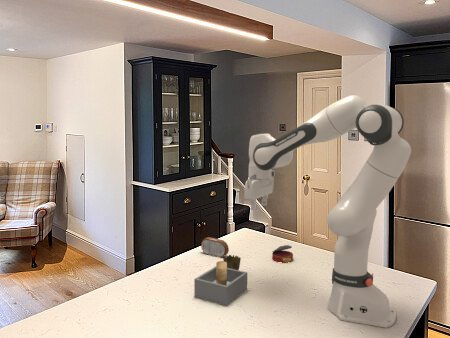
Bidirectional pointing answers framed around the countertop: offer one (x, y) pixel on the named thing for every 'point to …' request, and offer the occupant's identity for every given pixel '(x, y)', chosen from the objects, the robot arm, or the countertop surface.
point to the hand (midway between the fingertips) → (259, 207)
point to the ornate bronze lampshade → (232, 262)
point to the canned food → (282, 254)
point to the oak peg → (221, 272)
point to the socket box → (220, 286)
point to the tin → (214, 247)
